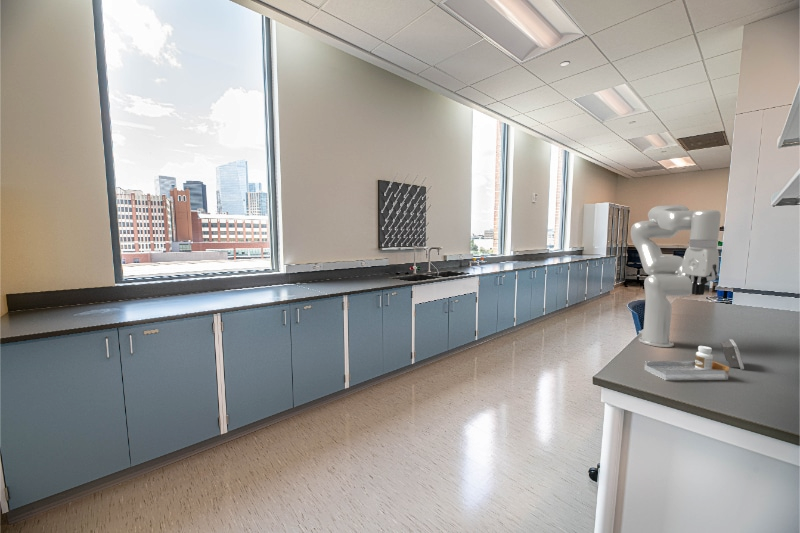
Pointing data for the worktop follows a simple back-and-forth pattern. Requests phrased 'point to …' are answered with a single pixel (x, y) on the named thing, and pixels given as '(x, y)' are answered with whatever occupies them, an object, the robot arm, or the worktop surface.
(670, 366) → the rail
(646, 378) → the worktop surface
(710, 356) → the pill bottle
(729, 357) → the electrical switch
